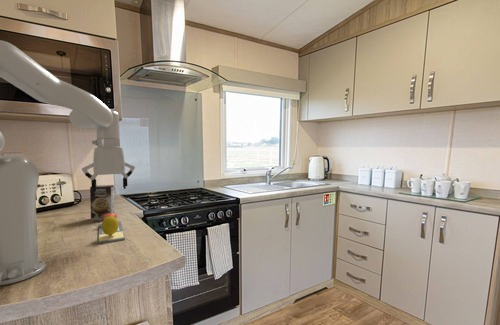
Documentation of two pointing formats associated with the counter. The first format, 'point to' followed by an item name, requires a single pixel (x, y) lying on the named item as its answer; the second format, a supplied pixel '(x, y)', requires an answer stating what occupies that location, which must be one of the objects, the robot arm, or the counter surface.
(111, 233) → the lemon
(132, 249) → the counter surface
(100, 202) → the coffee box
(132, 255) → the counter surface
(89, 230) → the counter surface
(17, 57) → the robot arm
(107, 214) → the button
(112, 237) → the board
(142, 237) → the counter surface
